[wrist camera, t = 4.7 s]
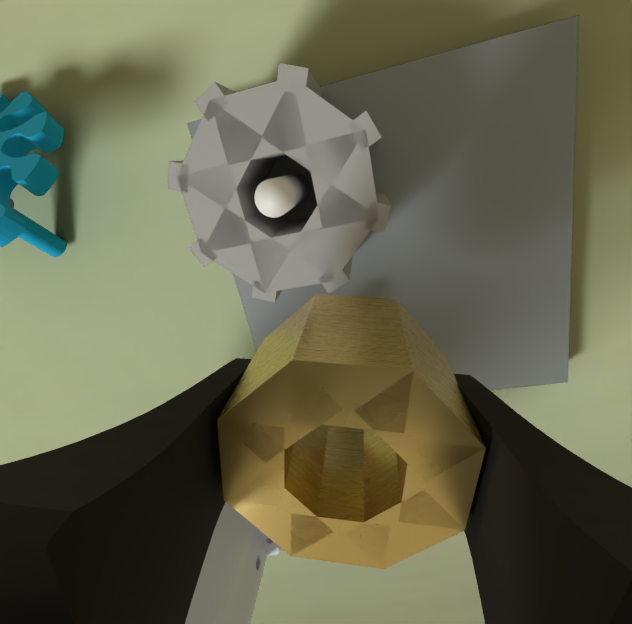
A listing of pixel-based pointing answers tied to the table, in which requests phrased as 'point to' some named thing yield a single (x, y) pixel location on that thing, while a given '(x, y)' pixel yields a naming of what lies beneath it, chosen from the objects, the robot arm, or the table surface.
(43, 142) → the gear
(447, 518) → the brass gear
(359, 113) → the gear board
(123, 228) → the table surface
